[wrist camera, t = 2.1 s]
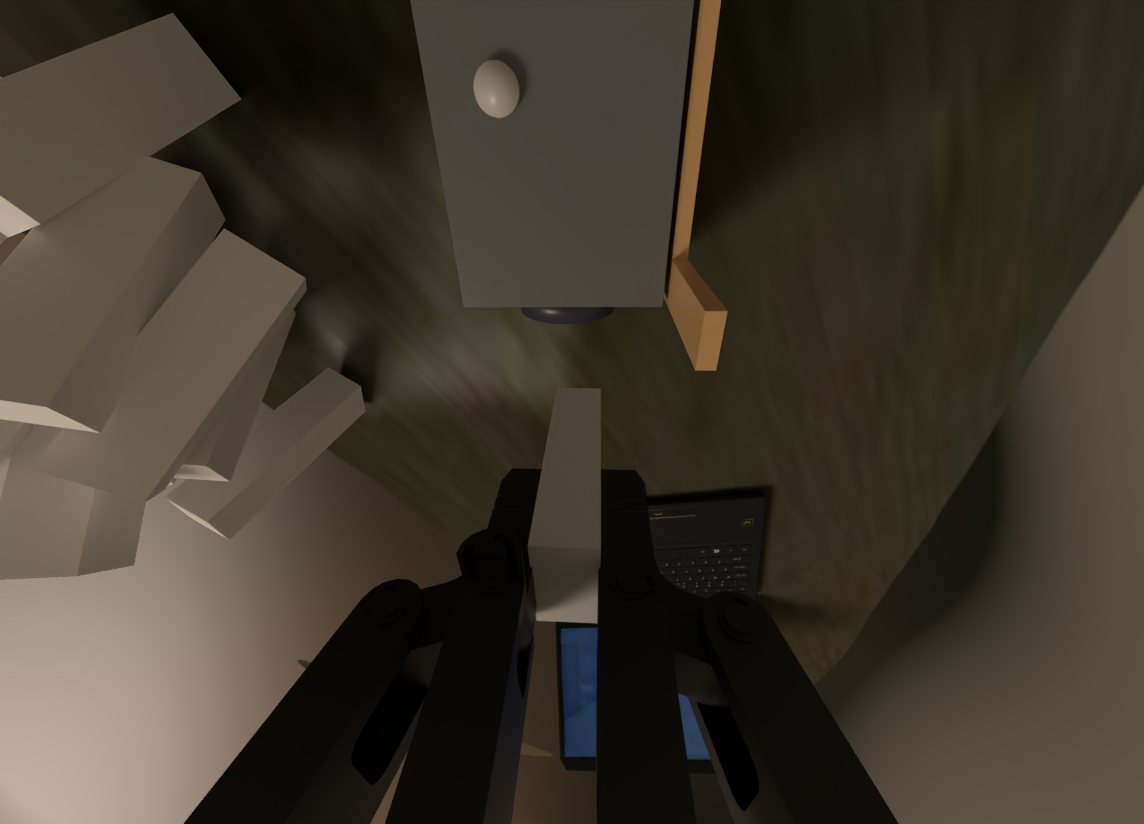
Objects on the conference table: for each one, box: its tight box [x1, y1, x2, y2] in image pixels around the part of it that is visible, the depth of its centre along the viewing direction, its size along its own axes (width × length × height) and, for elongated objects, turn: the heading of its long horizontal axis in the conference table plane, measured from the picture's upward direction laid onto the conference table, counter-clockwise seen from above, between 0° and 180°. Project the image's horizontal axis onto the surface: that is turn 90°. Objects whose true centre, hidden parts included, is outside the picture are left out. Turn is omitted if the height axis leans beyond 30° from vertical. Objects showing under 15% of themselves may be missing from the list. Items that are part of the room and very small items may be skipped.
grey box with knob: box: [410, 0, 694, 324], centre depth 29 cm, size 18×14×13 cm
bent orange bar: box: [663, 0, 728, 370], centre depth 24 cm, size 16×1×21 cm, turn 1°
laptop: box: [555, 492, 766, 774], centre depth 57 cm, size 33×38×19 cm
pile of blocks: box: [0, 13, 365, 580], centre depth 33 cm, size 35×30×35 cm
